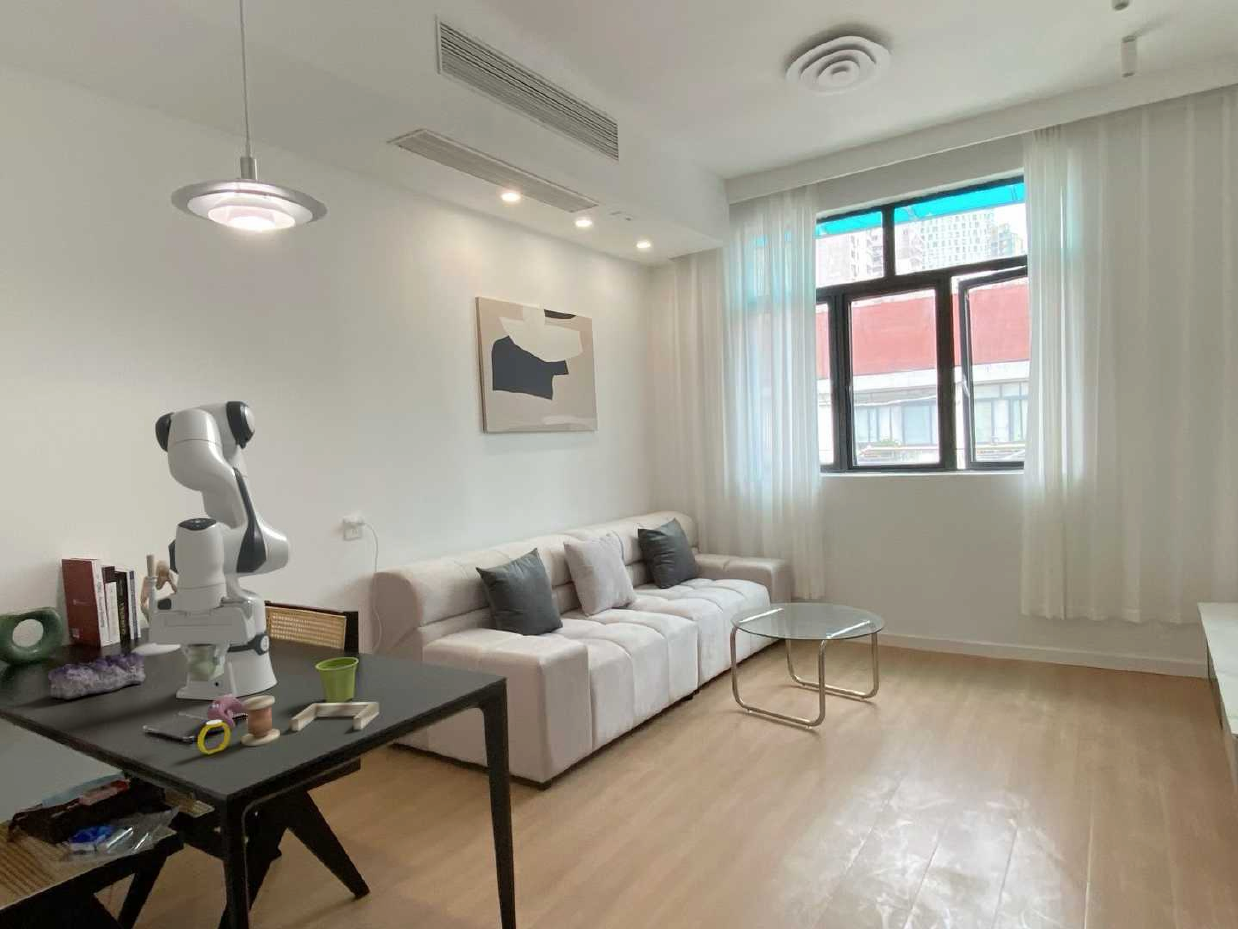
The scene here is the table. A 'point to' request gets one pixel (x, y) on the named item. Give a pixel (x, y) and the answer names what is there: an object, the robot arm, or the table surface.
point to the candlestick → (151, 646)
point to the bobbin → (259, 721)
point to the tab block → (203, 662)
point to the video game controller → (225, 710)
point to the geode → (97, 676)
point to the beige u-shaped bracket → (337, 713)
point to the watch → (201, 736)
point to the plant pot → (338, 678)
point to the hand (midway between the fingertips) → (206, 664)
